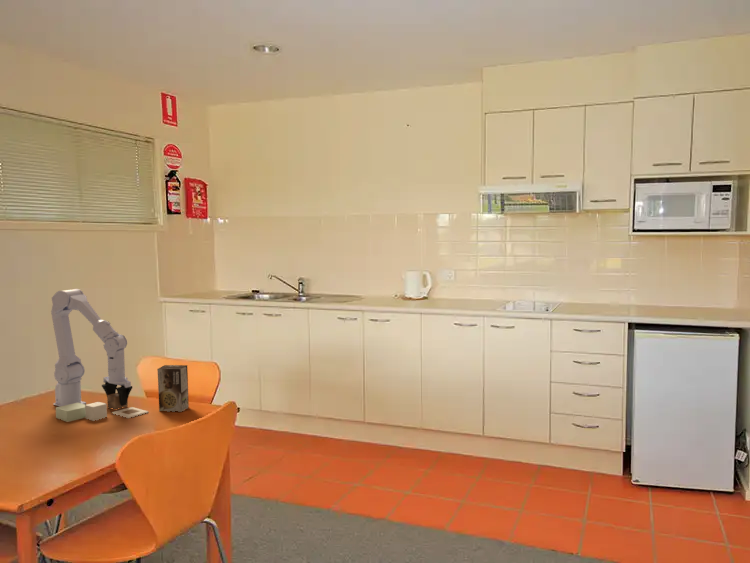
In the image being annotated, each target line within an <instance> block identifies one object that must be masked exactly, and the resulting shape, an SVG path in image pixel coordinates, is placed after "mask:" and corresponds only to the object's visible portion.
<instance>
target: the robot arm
mask: <svg viewBox="0 0 750 563" xmlns="http://www.w3.org/2000/svg"><path fill="white" fill-rule="evenodd" d="M51 301H52V305H51V311H50V312H51V319H52V324H53V330H54V336H55V337H54V338H55V341H56V342H55V343H56V347H57V352H58V359H57V361H56V362H55V363H54V372H53V373H54V375H53V376H54V379H55V381H56V382H57V383H56V385H55V388H54V393H55V394H54V397H55V402H53V403H52V404H53V405H54V406H56V407H60V406H65V405H69V404H74V403H81V404H84V405H87V402H86V401H82V384H81V383H82V382H81V380H82V378H83V376H84V374H85V367H84V365H83V362H82V359H81V358H80V357H79V356H77V355H76V352H75V350H76V349H75V345H74V341H73V334H72V328H71V322H70V317H69V315H70V314H71V313H72V311H74V310H75V311H78V312H79V313H81V315H83V317H85V319H86V320H87V321H89V323H90V324H91V325H92V331H93V332H94V333H95V334H96V335H97V337H98V338H99V339H100V340H101V341H102V343H103V349H104V350H105V352H106V356H107V374H108V376H105V377H103V384H101V387H102V389H103V391H104V392H105V396H107V395H110V394H114V393H118V395H119V401H120V405H121V406H124V405H127V400H129V396H130V393H131V391H132V389H133V385H132V384H131V381H130V380H128V379H129V378H128V377H126V371H125V370H126V369H125V368H126V367H125V366H126V364H125V348H127V345H128V339H127V338H126V337H125V335H123V334H119V332H118V331H116V329H114V328H113V327H112V325H111V322H110V321H108V320H106V319H101V317H100V316H99V314H98V313H97V312H96V311H95V309H94V308H93V306H92V305H91V304H90V302H89V301H88V296H87V295H86V294H84V291H82V289H79V288H74V289H73V288H72V289H65V290H58V291H56V292H55V293H54V294H53V296H52V297H51Z"/></svg>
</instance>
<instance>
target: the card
mask: <svg viewBox="0 0 750 563" xmlns="http://www.w3.org/2000/svg"><path fill="white" fill-rule="evenodd" d="M112 413H113V414H112ZM145 413H146V414H149V410H145V409H142V408H138V407H133V406H131V407H125V408H122V409H118V410H114V411H111V414H112V415H115V414H116V416H118V415H120V416H119V417H122V416H123V417H122V418H125V417H126V419H131V417H132V418H135V416H136V417H138V415H139V416H143V415H146V414H145ZM142 414H143V415H142Z"/></svg>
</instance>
